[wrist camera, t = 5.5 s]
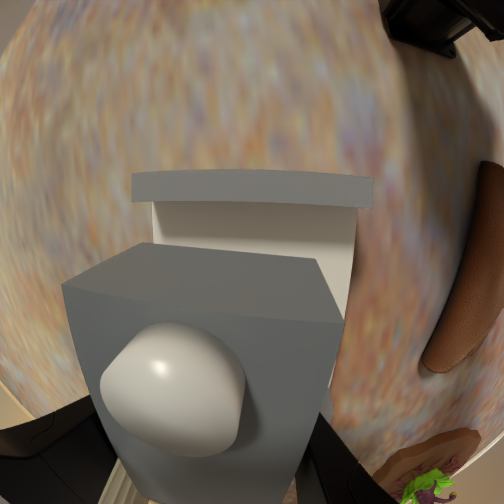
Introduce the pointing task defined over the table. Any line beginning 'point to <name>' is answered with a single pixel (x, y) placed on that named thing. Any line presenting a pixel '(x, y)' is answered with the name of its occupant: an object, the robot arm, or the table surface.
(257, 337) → the grey knobbed block
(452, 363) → the sunglasses case
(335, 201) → the stand
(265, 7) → the table surface
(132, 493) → the canister
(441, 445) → the plant
